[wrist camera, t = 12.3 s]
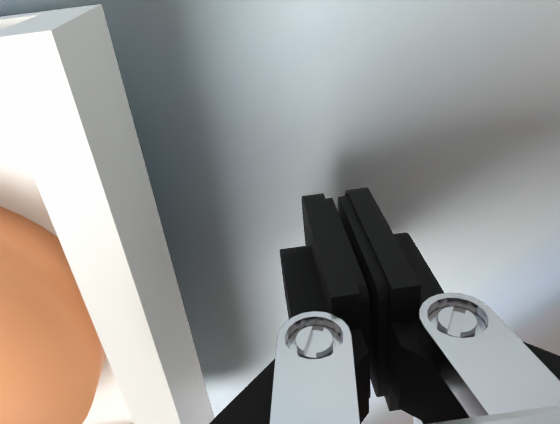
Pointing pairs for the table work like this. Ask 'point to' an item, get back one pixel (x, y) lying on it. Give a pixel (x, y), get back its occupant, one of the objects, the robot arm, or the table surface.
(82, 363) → the disc
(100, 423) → the tray
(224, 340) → the table surface
